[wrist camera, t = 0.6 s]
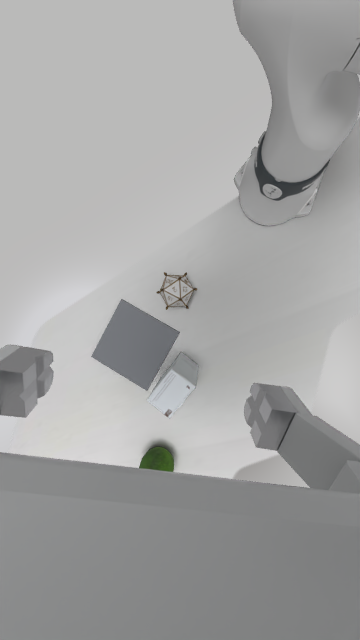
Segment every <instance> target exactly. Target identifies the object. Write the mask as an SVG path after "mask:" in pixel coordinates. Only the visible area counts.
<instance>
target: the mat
mask: <svg viewBox="0 0 360 640" xmlns="http://www.w3.org/2000/svg"><path fill="white" fill-rule="evenodd" d="M179 333H180V332H178V331H176V330H175V329H173V328H171V327H169V326H168V325H166V324H164V323H162V322H161V321H159V320H157V319H155V318H154V317H152V316H150V315H148V314H147V313H145V312H143V311H141V310H140V309H138V308H136V307H134V306H133V305H131V304H129V303H127V302H126V301H124V300H122V299H121V301H120V303H119V305H118V307H117V309H116V311H115V312H114V314H113V316H112V318H111V320H110V322H109V324H108V326H107V328H106V330H105V332H104V333H103V335H102V337H101V339H100V341H99V343H98V345H97V347H96V349H95V351H94V353H93V354H92V356H91V357H93V358H94V359H96V360H98V361H99V362H101V363H102V364H104V365H106V366H107V367H109V368H111V369H112V370H114V371H116V372H117V373H119V374H120V375H122V376H124V377H125V378H127V379H129V380H130V381H132V382H134V383H135V384H137V385H138V386H140V387H142V388H143V389H145V390H148V388H149V386H150V385H151V383H152V381H153V379H154V377H155V376H156V374H157V372H158V370H159V368H160V367H161V365H162V363H163V361H164V359H165V358H166V356H167V354H168V352H169V350H170V349H171V347H172V345H173V343H174V342H175V340H176V338H177V336H178V334H179Z"/></svg>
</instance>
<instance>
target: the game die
mask: <svg viewBox="0 0 360 640" xmlns="http://www.w3.org/2000/svg"><path fill="white" fill-rule="evenodd" d="M164 274H165V276H166V277H165V280H164V282H163V285H162V287H161V289H160V291H158V292H156V293H160V294H161V296H162V297H163V299H164V301H165V303H166V305H167V307H166V310H167V309H168V307H173V306H186V308H187V309H188V306H187V304H188V302H189V299H190V297H191V295H192V293H193V291H194V290H197V288H193V287H192V285H191V284H190V282H189V281H188V279H187V278H186V275H187V272H186V273H185V274H184V275H167V274H166V273H165V272H164Z"/></svg>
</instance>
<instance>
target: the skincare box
mask: <svg viewBox="0 0 360 640" xmlns="http://www.w3.org/2000/svg"><path fill="white" fill-rule="evenodd" d="M198 368H199V366H198V365H197V364H196V363H195V362H193V361H192V360H191V359H190V358H188V357H187V356H186V355H185V354H183V353H182V352H181V353H180V354H179V355H178V357H177V358H176V360H175V361H174V362H173V363H172V365H171V366H170V367H169V368H168V370H167V371H166V372H165V373H164V374H163V375H162V377H161V378H160V380H159V381H158V383H157V385H156V386H155V388H154V389H153V391H152V393H151V394H150V396H149V397H148V399H147V401H148V402H149V403H150V404H152V405H153V406H154V407H155V408H157V409H158V410H159V411H160V412H162V413H163V414H164V415H166V416H167V417H168V418H169V419H170V418H171V417H172V416H173V414H174V413H175V412H176V411H177V409H178V408H179V407H180V406H181V405H182V404H183V403H184V401H185V399H186V398H187V397H188V396H189V395H190V393H191V392H192V391H193V390H194V389H195V388H196V383H197V376H198Z"/></svg>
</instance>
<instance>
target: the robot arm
mask: <svg viewBox="0 0 360 640" xmlns="http://www.w3.org/2000/svg"><path fill="white" fill-rule="evenodd" d="M233 5H234V11H235V16H236V20H237V24H238V26H239V30H240V32H241V34H242V35H243V36H244V37H245V39H246V40H247V41H248V42H249V44H250V45H251V46H252V48H253V49H254V50H255V52H256V54H257V55H258V57H259V59H260V61H261V63H262V65H263V67H264V70H265V72H266V75H267V78H268V81H269V85H270V89H271V94H272V109H271V114H270V119H269V123H268V128H267V131H266V132H264V133H263V134H262V136H261V137H260V139H259V141H258V143H259V146H258V148H257V147H254V149H253V150H252V152H251V154H252V155H251V156H250V157H249V158H248V160H247V161H246V162H245V164H244V165H243V166H242V167H241V169H240V170H239V171H238V172H237V174H236V175H235V178H234V182H235V185H236V186H237V188H238V190H239V198H240V204H241V207H242V209H243V211H244V213H245V214H246V215H247V216H248V217H249V218H250V219H251V220H252V221H254V222H256V223H258V224H261V225H267V226H273V225H278V224H282V223H284V222H286V221H288V220H290V219H292V218H294V217H302V216H306V215H307V214H308V213H309V212H310V211H311V208H312V205H313V202H314V200H315V197H316V194H317V191H318V188H319V185H320V183H321V180H322V177H323V174H324V171H325V168H326V166H327V165H328V163H329V161H330V158H331V157H332V155H333V154H334V153H335V151H336V150H337V149H338V148H339V146H340V145H341V144H342V142H343V141H344V140H345V139H346V137H347V136H348V135H349V133H350V132H351V130H352V129H353V127H354V125H355V123H356V121H357V118H358V115H359V111H360V82H359V78H358V76H357V74H360V0H233ZM242 173H243V174H242ZM307 204H308V206H306V205H307ZM52 362H53V353H52V352H51V351H46V350H41V349H35V348H29V347H23V346H17V345H6V346H4V347H3V348H1V349H0V415H6V416H15V417H25V418H26V417H27V416H28V414H29V413H30V412H31V411H32V410H33V409H34V407H35V406H36V405H37V399H38V398H40V397H42V396H44V395H45V394H46V393H47V392H48V390H49V389H50V386H51V384H52V381H53V370H52V369H51V367H50V366H49V365H50V364H51V363H52ZM250 393H251V395H252V396H251V397H249V398H248V399H247V400H246V403H245V406H244V416H245V420H246V423H247V424H248V425H249V426H250V427H251V428H252V429H251V432H250V433H251V436H252V438H253V441H254V443H255V446H256V447H257V448H264V449H270V450H276V451H278V453H279V454H280V455H281V456H282V457H283V458H284V459H285V461H286V462H287V463H288V464H289V465H290V466H291V467H292V468H293V469H294V470H295V472H296V473H297V474H298V475H299V476H300V477H301V478H302V479H303V480H304V481H305V482H306V484H307V485H308V486H309V487H310V488H304V487H296V486H286V485H277V484H270V483H261V482H253V481H243V480H236V479H227V478H219V477H210V476H202V475H193V474H185V473H176V472H167V471H159V470H150V469H141V468H132V467H124V466H115V465H106V464H98V463H89V462H80V461H71V460H63V459H54V458H45V457H37V456H28V455H20V454H11V453H2V452H0V640H360V445H359V444H358V443H356V442H355V441H353V440H352V439H350V438H349V437H347V436H346V435H344V434H343V433H341V432H340V431H338V430H336V429H335V428H334V427H332V426H330V425H329V424H328V423H326V422H325V421H323V420H322V419H320V418H319V417H317V416H313V415H312V414H311V413H310V411H309V410H308V409H307V407H306V406H305V405H304V404H303V402H302V401H301V400H300V398H299V397H298V396H297V395H296V393H295V392H294V391H293V389H291V388H290V387H284V386H275V385H267V384H259V383H253V385H252V386H251V389H250Z"/></svg>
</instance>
